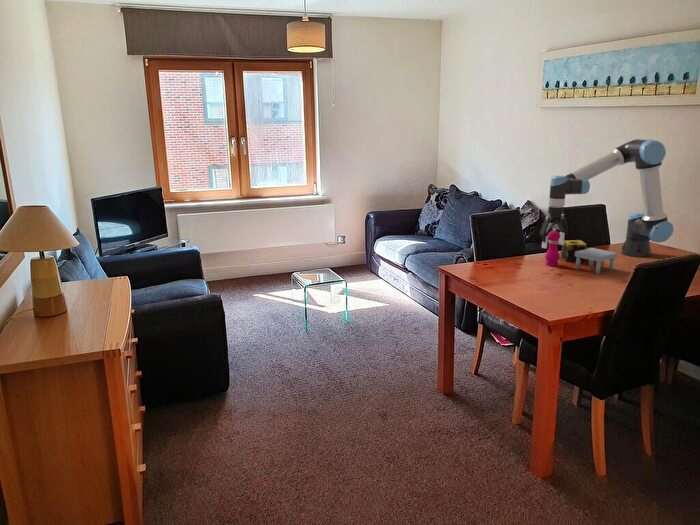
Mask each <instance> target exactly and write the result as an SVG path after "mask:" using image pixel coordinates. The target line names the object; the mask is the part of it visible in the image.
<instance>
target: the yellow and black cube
mask: <svg viewBox="0 0 700 525" xmlns="http://www.w3.org/2000/svg"><path fill="white" fill-rule="evenodd" d="M561 246H562V247H561V248H562V249H561V258H562V259H563V260H564V261H565V262H566V263H567V262H568V263H576V258H577V257H576V256H575V252H576V251H580V250H585V249H587V243H586V242H584V241H583V240H581V239H576V240H575V239H573V240H572V239H571V240H565V239H564V245H561ZM584 262H586V259H585V258H581V261H580V263H584Z"/></svg>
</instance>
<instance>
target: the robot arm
mask: <svg viewBox="0 0 700 525" xmlns="http://www.w3.org/2000/svg"><path fill="white" fill-rule="evenodd" d="M666 153H667V150H666V148H665V145H664V144H663V143H662V142H661V141H659V140H655V139H632V140H629V141H627V142H625V143H622V144H621V145H619V146H617V147H615V148H613V149H612V151H611V152H609V153H607V154H606V155H604V156H602V157H600V158H598V159H596V160H594V161H592V162H590V163H588V164H586V165H584V166H583V167H580V168H578V169H575V171H572V172H570V173H568V174H567V175H553V176H552V177H551V179H550V184H549V187H550V188H549V196H548V198H549V199H548V200H549V201H548V210H547V213H548V215H549V216H545V217H544V220H543V223H542V226H541V228H540V231H539V235H540V236H541V249H547V248H548V242H549V238H548V234H549V232H551V229H553V226H555V225H557V227H558V229H559V231H560V232H559V233H560V238H559V239H558V240H559V241H558V242H559V243H558V245H561V246H563V245H564V241H565V237H566V236H565V235H566V233H568V231H569V228H568V223H567V219H566V218H567V215H566V214H565V211H564V210H565V205H566V204H565V203H566V195H586V194H588V193H589V191H590V189H591V188H590V187H591V184H590V181H589V180H591V179H593V178H596V177H598V176H599V175H601V174H603V173H605V172H607V171H609V170H611V169H613V168H615V167H617V166H623V165H625V164H628V163H634V164H635V169H636V170H637V171H638V172H639V177H640V184H641V192H642V194H641V195H642V196H641V197H642V202H643V213H642V212H640V213H638V212H637V213H636V212H635V213H631V214H629V215H628V219H627V228H626V235H625V236H626V237H625V241H624V243H623V245H622V247H621V249H620V253H621V254H622V255H624V254H625V255H624V256H629V257H634V258H635V257H638V258H643V257H644V258H645V257H647V258H648V257H651V256H652V253H653V251H652V247H651V246H652V245H651V242H654V243H664V242H666V241H668V240H669V239H670V237H672V236H673V234H674V226H673V224H672V223H671V222H670V221H669V219H668V214H667V213H665V212H664V203H663V197H662V196H663V195H662V186H661V177H660V169H659V168H660V167H661V166H662V164H663V163H662V161H664V159H665V157H666ZM650 241H651V242H650Z"/></svg>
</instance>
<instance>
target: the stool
mask: <svg viewBox="0 0 700 525" xmlns="http://www.w3.org/2000/svg"><path fill="white" fill-rule="evenodd" d="M575 256H576V257H577V258H576V262H575V269H576V270H580V269H581V262H580V261H581V258H585V260H589V261H588V266H591V267H593V266H594V262H596V265H595V266H596V267H595V275H600V274H601V265H602V262H605V261H608V260H609V265H608V270H609V271H614V269H615V268H614V266H615V259H616V258H618V252H614V251H609V250H604V249H599V248H594V247H589V248H586V249H585V250H580V251H576V252H575Z"/></svg>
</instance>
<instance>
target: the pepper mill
mask: <svg viewBox="0 0 700 525" xmlns="http://www.w3.org/2000/svg"><path fill="white" fill-rule="evenodd" d="M547 236H548V243H549V244H548V249H547V251H546V253H545V254H544V255H545V256H544V259H545V260H546V261H545V266H547V265H548V267H553V266H554V267H558V266H559V260H560V259H561V257H560V253H559V249H558V245H559V244H558V243H559V238H560V232H559V231H557V228H555V227H554V228H553V227H552V230H550V231H549V233H548V234H547ZM557 265H558V266H557Z"/></svg>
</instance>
